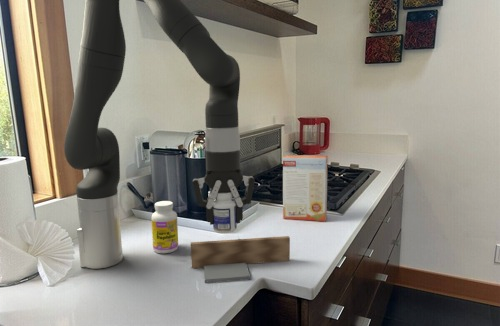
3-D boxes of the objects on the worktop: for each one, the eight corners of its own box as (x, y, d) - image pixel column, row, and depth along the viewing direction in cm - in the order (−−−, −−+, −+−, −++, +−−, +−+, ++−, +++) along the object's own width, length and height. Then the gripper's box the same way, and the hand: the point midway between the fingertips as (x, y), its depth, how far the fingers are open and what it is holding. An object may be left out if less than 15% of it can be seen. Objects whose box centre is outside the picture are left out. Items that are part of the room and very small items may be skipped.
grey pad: (204, 283, 82) (204, 279, 82) (204, 268, 89) (204, 265, 89) (250, 279, 84) (250, 276, 84) (246, 265, 91) (246, 262, 91)
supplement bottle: (153, 255, 97) (150, 207, 95) (152, 246, 103) (149, 201, 101) (179, 252, 99) (177, 205, 97) (177, 243, 105) (175, 198, 103)
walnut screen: (191, 268, 90) (190, 244, 89) (191, 265, 91) (190, 242, 90) (289, 260, 93) (289, 237, 92) (288, 258, 94) (288, 236, 93)
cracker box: (326, 216, 127) (328, 155, 123) (325, 222, 121) (326, 158, 117) (285, 213, 130) (285, 154, 127) (282, 219, 125) (282, 156, 121)
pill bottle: (224, 224, 88) (223, 187, 87) (241, 228, 85) (240, 190, 83) (208, 230, 84) (206, 192, 83) (225, 235, 81) (224, 195, 79)
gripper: (188, 151, 77) (192, 230, 80) (258, 149, 79) (259, 226, 82) (189, 147, 84) (192, 219, 87) (253, 144, 86) (254, 215, 89)
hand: (224, 222), depth 84 cm, fingers closed on pill bottle, 5 cm apart
